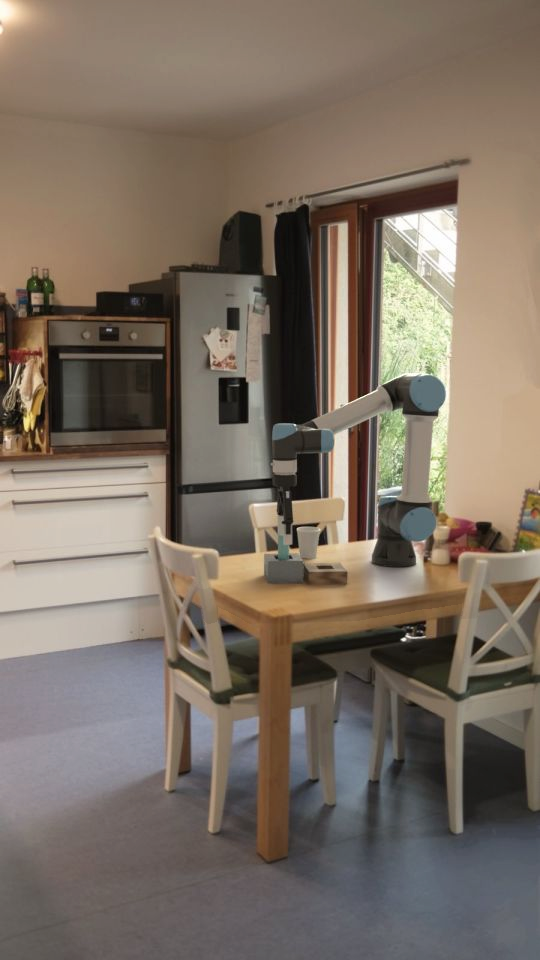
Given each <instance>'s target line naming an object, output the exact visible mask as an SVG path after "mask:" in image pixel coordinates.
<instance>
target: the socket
mask: <svg viewBox="0 0 540 960" xmlns="http://www.w3.org/2000/svg"><path fill="white" fill-rule="evenodd" d="M303 563H304V559H303V558H301V557H300V553H299V552H297V553H296V552H294V553H292V552H291V553H290V552H289V559H278V553H264V554H263V576H264V578H265V580H266V582H267V584H299V583H300V584H302V583H304V576H303Z"/></svg>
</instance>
